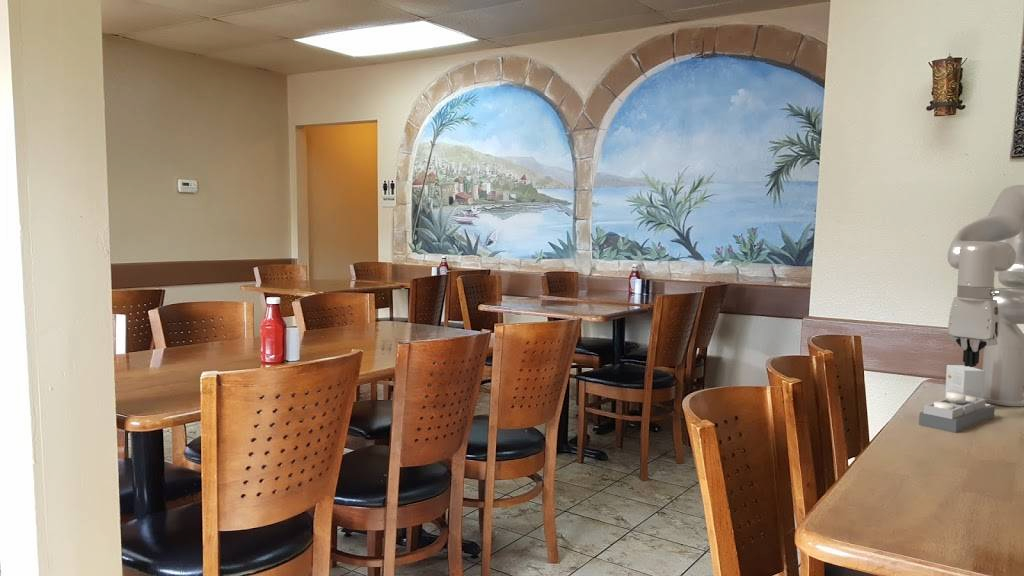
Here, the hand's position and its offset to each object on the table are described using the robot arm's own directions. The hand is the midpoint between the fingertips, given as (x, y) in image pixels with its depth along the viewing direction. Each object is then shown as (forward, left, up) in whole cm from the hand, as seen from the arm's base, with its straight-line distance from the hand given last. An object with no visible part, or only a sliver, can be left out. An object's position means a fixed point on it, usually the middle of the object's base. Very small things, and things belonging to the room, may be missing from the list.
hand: (970, 365), depth 177 cm
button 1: (+15, 0, -10) cm, 18 cm away
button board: (+6, 0, -13) cm, 14 cm away
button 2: (+1, 0, -10) cm, 10 cm away
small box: (-13, -5, -13) cm, 20 cm away
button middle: (+8, 0, -8) cm, 11 cm away
